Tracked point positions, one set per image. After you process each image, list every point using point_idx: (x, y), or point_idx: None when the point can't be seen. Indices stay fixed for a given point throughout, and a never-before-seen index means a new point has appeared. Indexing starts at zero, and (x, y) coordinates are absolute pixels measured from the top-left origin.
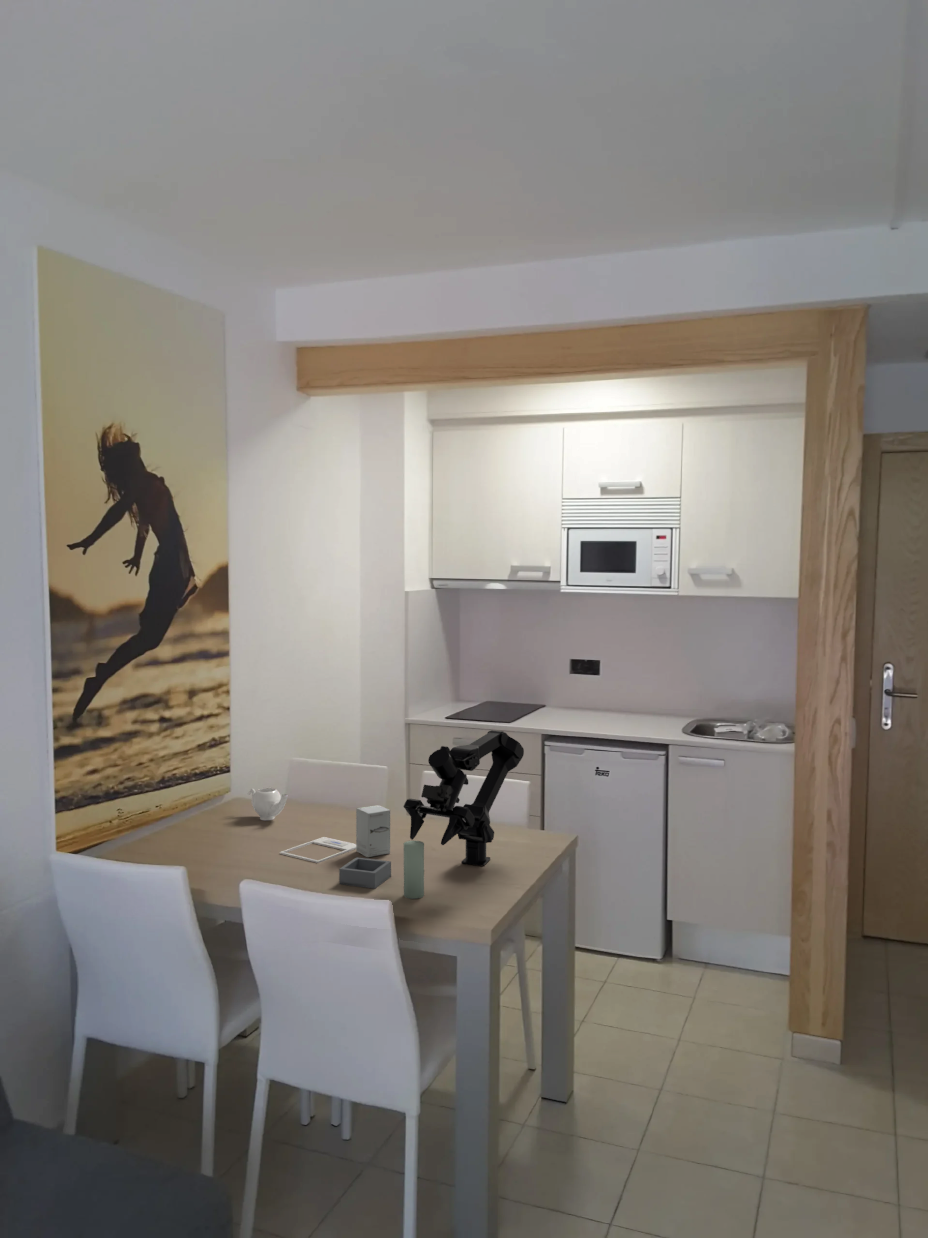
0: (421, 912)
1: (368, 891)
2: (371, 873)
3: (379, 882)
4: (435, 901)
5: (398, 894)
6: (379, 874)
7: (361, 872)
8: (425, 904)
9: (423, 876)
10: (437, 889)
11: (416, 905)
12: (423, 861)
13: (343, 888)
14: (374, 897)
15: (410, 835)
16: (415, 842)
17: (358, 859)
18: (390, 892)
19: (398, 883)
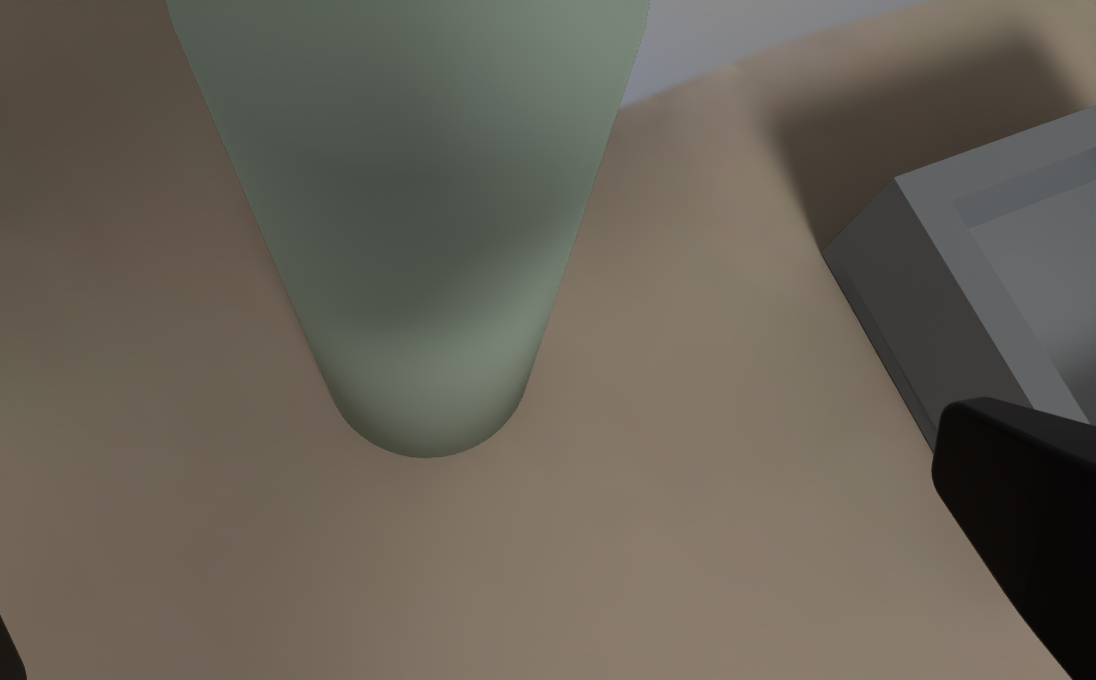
0: (72, 99)
1: (807, 179)
2: (923, 168)
3: (883, 328)
4: (134, 374)
5: (560, 285)
6: (927, 298)
7: (1014, 135)
8: (169, 256)
9: (303, 329)
10: (356, 664)
11: (225, 189)
12: (266, 240)
13: (995, 109)
14: (656, 113)
15: (1021, 410)
16: (444, 36)
17: None
18: (654, 276)
19: (800, 504)
